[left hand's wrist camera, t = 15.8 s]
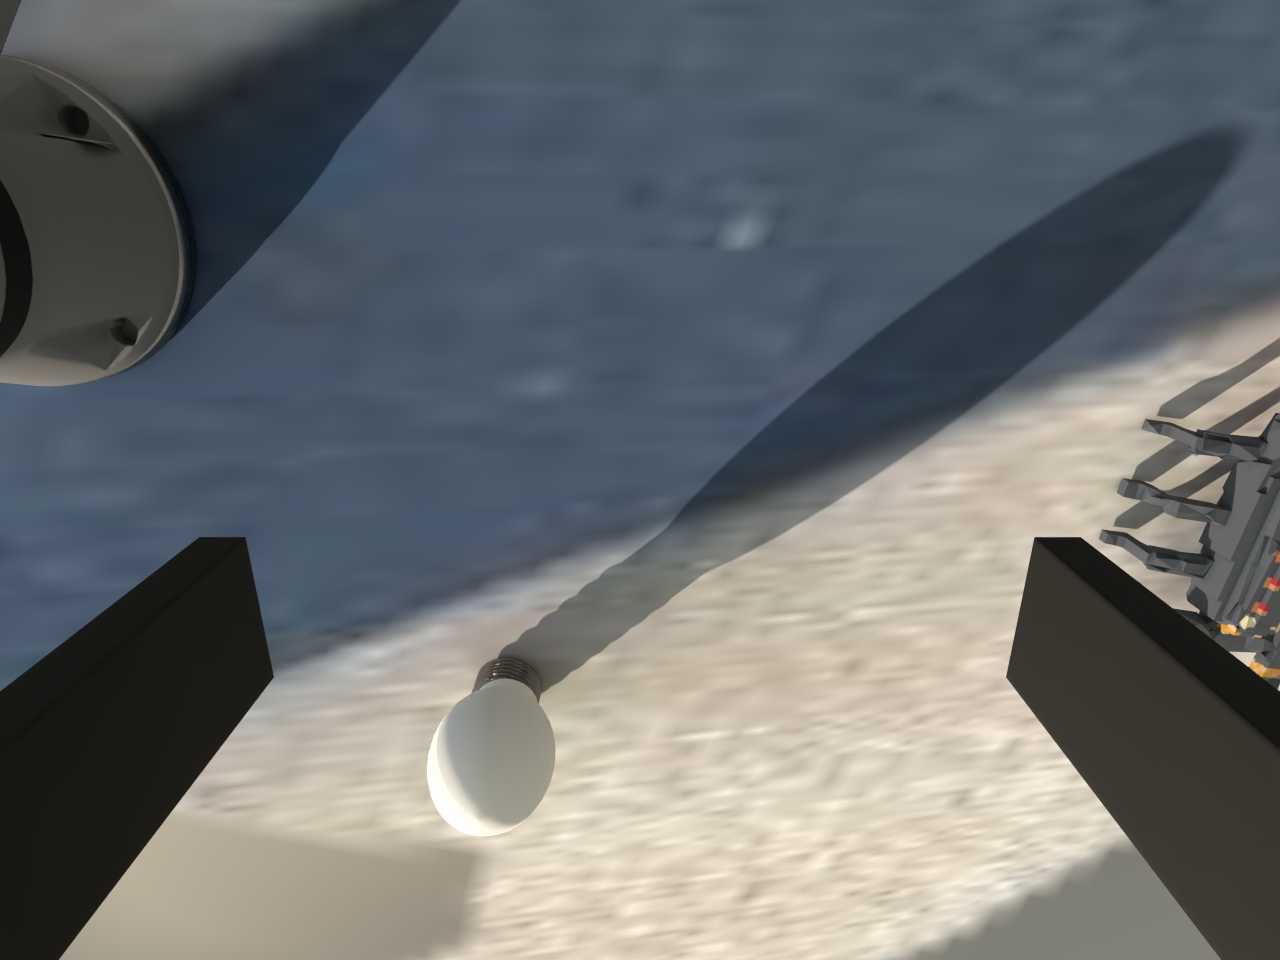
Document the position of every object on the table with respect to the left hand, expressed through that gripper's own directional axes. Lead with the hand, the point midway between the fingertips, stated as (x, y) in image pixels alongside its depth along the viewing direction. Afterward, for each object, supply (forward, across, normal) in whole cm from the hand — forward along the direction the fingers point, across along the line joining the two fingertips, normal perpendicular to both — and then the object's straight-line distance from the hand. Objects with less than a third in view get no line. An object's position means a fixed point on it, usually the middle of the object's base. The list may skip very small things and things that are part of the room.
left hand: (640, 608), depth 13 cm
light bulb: (+29, -8, -22) cm, 37 cm away
